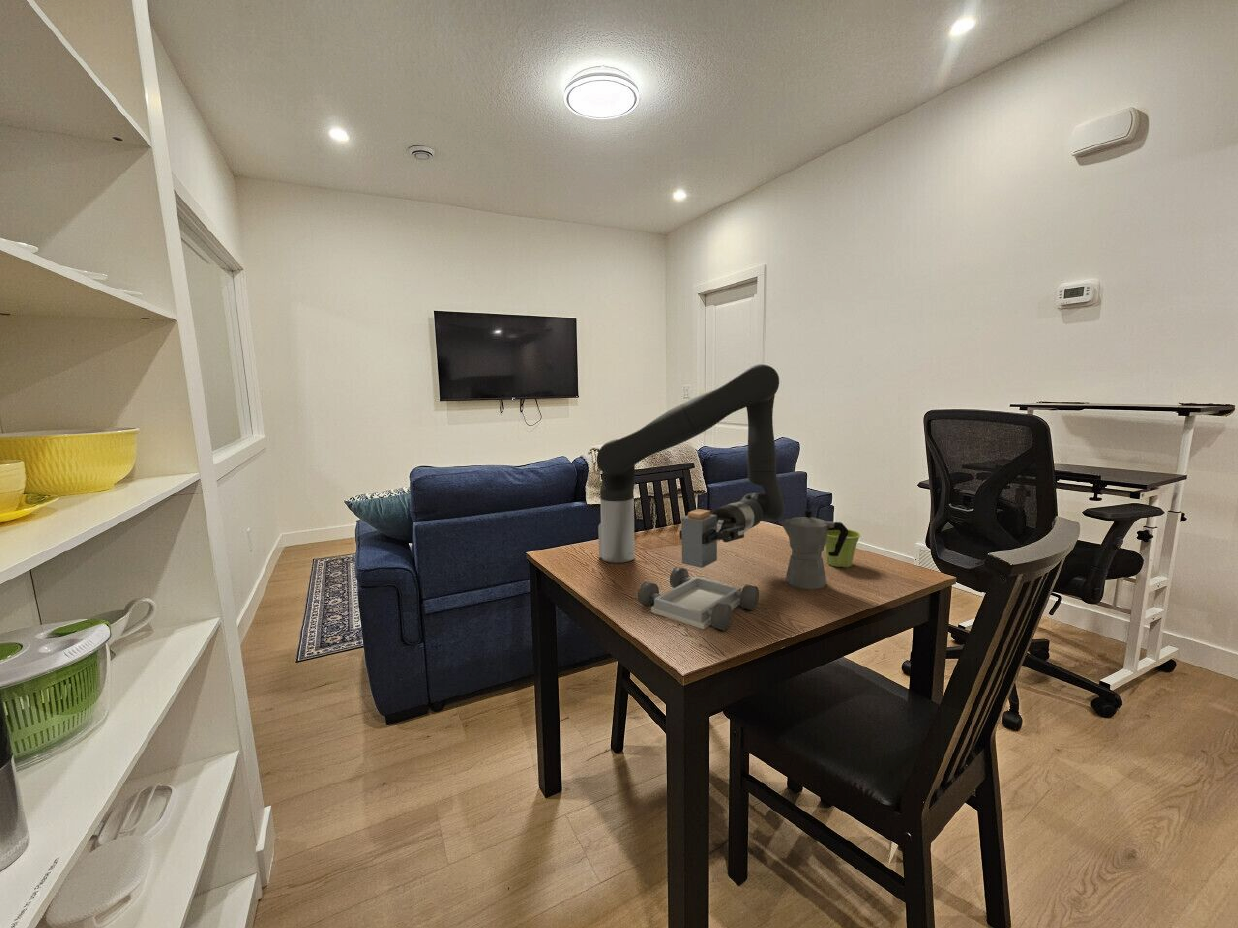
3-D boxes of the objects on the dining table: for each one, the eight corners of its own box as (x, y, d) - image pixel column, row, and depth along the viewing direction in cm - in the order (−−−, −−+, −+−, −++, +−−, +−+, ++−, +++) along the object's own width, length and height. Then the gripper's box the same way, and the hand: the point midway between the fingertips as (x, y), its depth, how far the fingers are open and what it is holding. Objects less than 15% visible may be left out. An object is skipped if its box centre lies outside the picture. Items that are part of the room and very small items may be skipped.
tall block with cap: (681, 563, 109) (681, 512, 108) (696, 555, 114) (696, 507, 112) (702, 568, 106) (701, 516, 104) (716, 560, 110) (716, 510, 109)
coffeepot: (774, 585, 122) (776, 511, 120) (780, 572, 131) (782, 503, 128) (845, 595, 116) (848, 517, 113) (846, 581, 124) (849, 508, 122)
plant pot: (834, 556, 143) (835, 525, 141) (866, 565, 135) (868, 533, 133) (812, 562, 138) (814, 531, 136) (844, 572, 130) (846, 539, 128)
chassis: (638, 607, 111) (637, 585, 111) (681, 584, 124) (681, 564, 123) (719, 634, 98) (719, 609, 98) (759, 605, 111) (759, 583, 110)
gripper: (705, 500, 124) (664, 515, 111) (760, 508, 115) (723, 525, 102) (705, 531, 125) (664, 548, 112) (760, 541, 116) (723, 561, 103)
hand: (692, 537), depth 107 cm, fingers closed on tall block with cap, 5 cm apart
